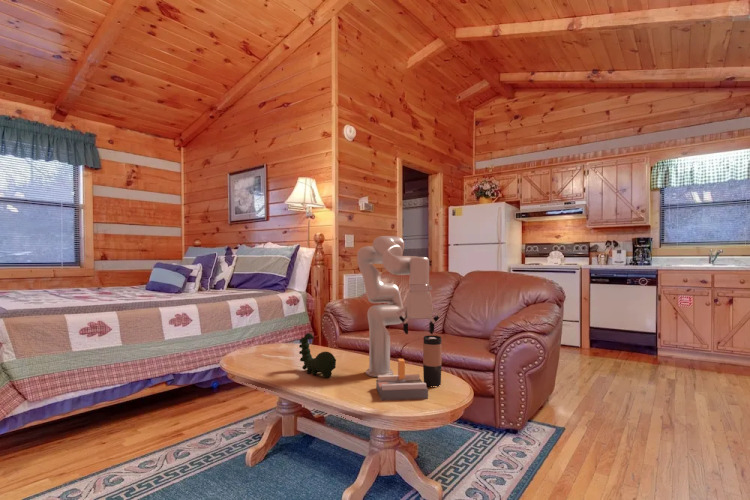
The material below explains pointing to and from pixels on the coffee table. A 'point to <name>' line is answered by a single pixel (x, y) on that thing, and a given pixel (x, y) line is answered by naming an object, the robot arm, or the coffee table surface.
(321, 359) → the toy figurine
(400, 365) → the breaker lever
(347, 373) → the coffee table surface
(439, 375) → the travel mug
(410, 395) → the breaker block
